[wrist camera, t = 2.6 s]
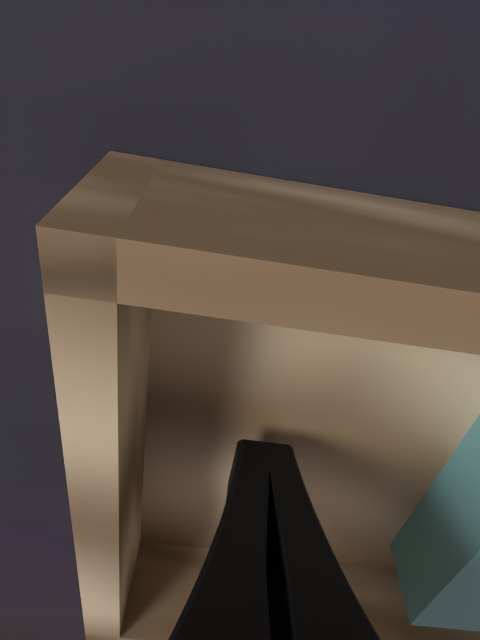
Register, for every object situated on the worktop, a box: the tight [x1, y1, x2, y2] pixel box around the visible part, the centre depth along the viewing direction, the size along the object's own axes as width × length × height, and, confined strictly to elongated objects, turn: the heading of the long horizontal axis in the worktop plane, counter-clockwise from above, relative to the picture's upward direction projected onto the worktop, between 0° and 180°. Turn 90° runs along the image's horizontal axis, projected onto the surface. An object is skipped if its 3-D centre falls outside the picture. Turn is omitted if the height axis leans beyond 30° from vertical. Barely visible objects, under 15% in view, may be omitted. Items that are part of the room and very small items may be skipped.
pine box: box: [36, 151, 480, 640], centre depth 11 cm, size 14×14×4 cm
